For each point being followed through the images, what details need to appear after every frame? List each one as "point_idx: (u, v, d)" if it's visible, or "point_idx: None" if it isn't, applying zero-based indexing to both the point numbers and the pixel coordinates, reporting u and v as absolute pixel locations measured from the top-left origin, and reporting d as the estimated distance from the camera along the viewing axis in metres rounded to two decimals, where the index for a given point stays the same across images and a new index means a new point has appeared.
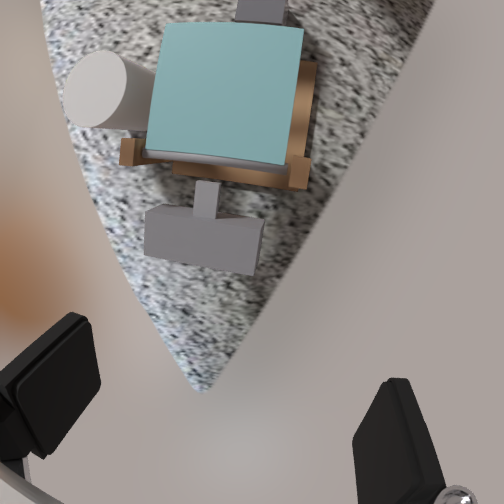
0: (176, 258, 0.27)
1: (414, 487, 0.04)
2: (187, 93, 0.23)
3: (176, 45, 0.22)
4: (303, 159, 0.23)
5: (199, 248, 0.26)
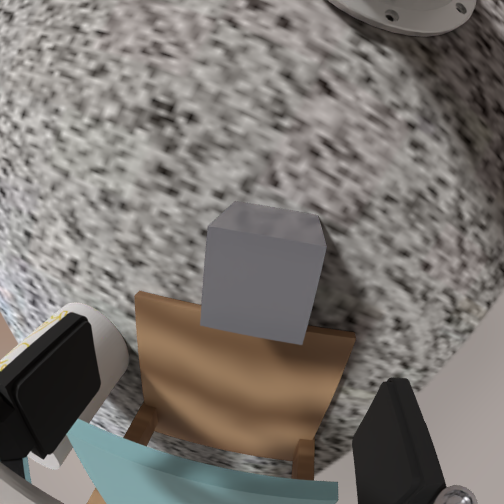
0: None
1: (414, 487, 0.04)
2: None
3: (102, 468, 0.11)
4: None
5: None
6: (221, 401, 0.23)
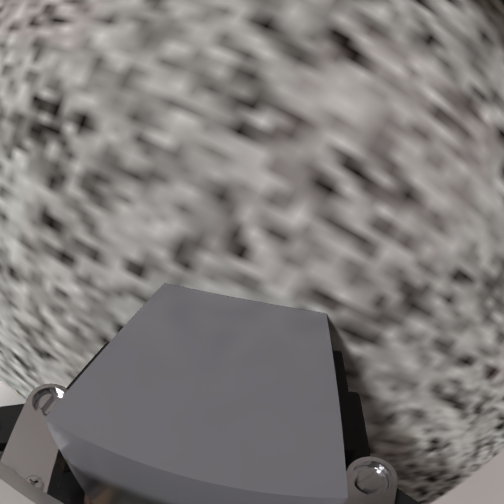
0: None
1: None
2: None
3: None
4: None
5: None
6: None
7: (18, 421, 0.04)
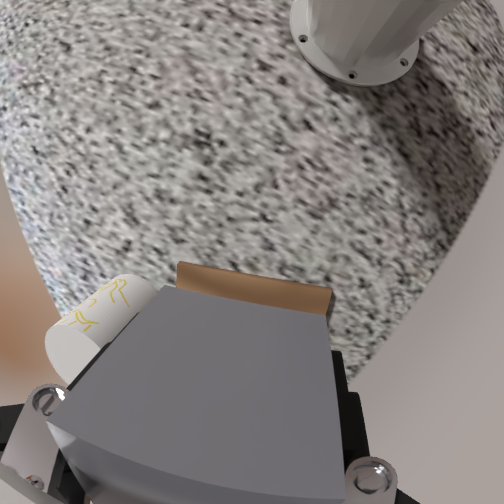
0: None
1: None
2: None
3: None
4: None
5: None
6: None
7: (18, 421, 0.04)
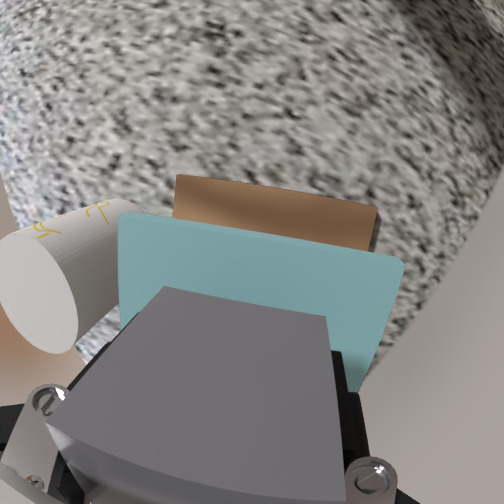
0: None
1: None
2: None
3: (146, 274, 0.13)
4: None
5: None
6: None
7: (18, 421, 0.04)
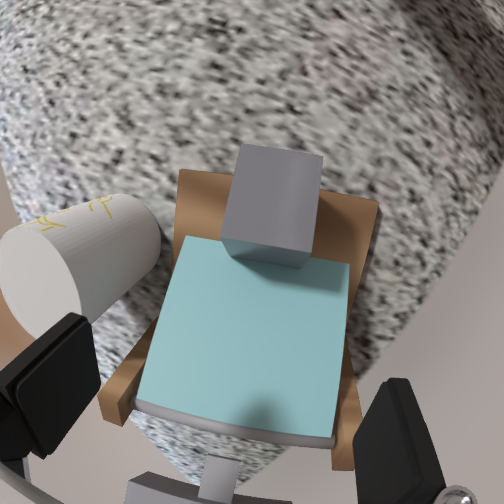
0: None
1: (414, 487, 0.04)
2: (205, 335, 0.19)
3: (196, 267, 0.21)
4: None
5: None
6: None
7: None
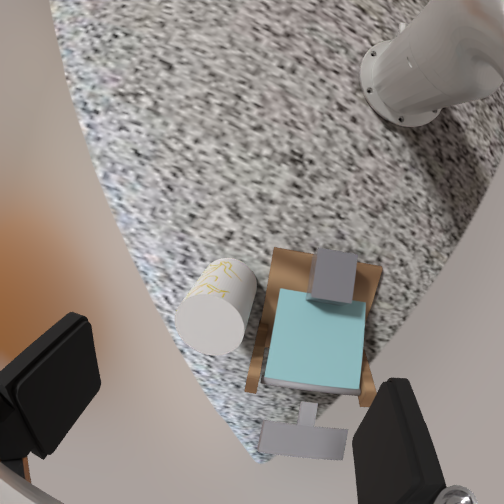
0: (286, 453, 0.30)
1: (414, 487, 0.04)
2: (297, 342, 0.38)
3: (288, 306, 0.40)
4: (372, 394, 0.33)
5: (305, 445, 0.30)
6: None
7: None
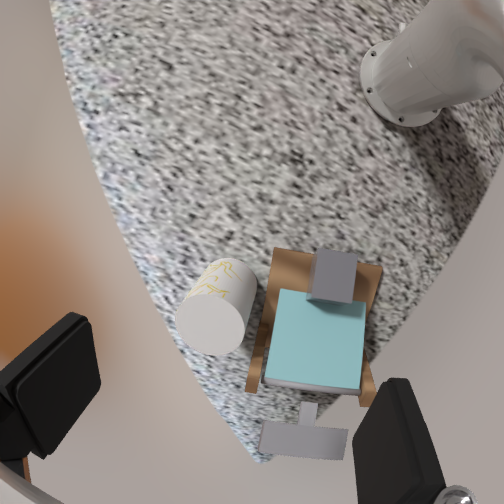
0: (286, 453, 0.30)
1: (414, 487, 0.04)
2: (297, 342, 0.38)
3: (288, 306, 0.40)
4: (372, 394, 0.33)
5: (305, 445, 0.30)
6: None
7: None
